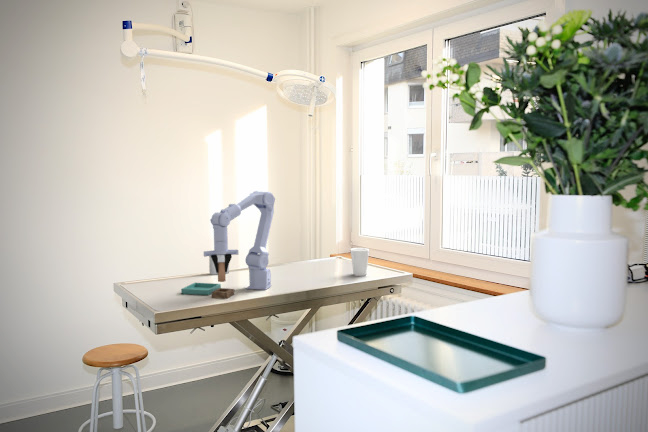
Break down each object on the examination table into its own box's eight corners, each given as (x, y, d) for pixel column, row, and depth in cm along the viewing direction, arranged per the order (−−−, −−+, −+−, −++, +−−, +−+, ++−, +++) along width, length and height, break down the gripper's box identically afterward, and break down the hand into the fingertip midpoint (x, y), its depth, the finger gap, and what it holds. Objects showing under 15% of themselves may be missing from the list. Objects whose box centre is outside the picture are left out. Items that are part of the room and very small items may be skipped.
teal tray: (220, 288, 250) (220, 283, 250) (208, 295, 238) (208, 290, 238) (194, 287, 253) (194, 282, 253) (181, 293, 241) (181, 288, 241)
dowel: (226, 280, 238) (226, 262, 237) (223, 282, 235) (223, 263, 234) (220, 280, 238) (219, 261, 238) (216, 281, 235) (216, 263, 235)
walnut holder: (233, 294, 239) (233, 288, 239) (227, 298, 233) (227, 292, 232) (218, 293, 241) (218, 288, 241) (212, 297, 234) (211, 291, 234)
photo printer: (226, 271, 288) (226, 248, 287) (230, 273, 284) (229, 249, 283) (208, 274, 282) (207, 250, 281) (211, 275, 279) (210, 251, 277)
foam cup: (346, 274, 280) (346, 249, 279) (360, 271, 286) (360, 247, 285) (359, 277, 273) (359, 251, 272) (372, 274, 278) (373, 249, 277)
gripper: (236, 238, 241) (236, 269, 242) (202, 240, 236) (203, 271, 238) (238, 240, 234) (239, 272, 236) (204, 242, 230) (205, 274, 231)
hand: (221, 272), depth 236 cm, fingers closed on dowel, 3 cm apart
